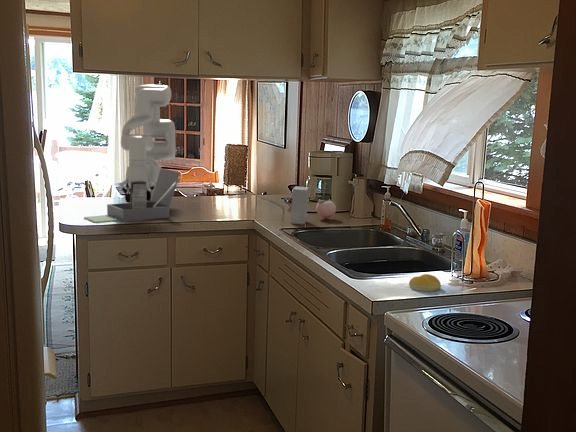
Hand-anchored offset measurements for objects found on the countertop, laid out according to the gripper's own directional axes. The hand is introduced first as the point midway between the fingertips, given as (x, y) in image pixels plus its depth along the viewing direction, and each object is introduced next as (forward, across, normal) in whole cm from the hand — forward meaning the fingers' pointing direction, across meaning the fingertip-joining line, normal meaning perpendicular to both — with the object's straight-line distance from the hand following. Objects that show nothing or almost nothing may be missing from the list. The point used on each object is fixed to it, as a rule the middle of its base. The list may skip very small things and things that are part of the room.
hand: (138, 201), depth 287 cm
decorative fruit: (+7, -71, +48) cm, 86 cm away
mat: (+7, +18, 0) cm, 19 cm away
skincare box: (+7, -55, +48) cm, 73 cm away
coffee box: (+7, 0, 0) cm, 7 cm away
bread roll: (+7, -23, +148) cm, 150 cm away
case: (+7, -3, +1) cm, 7 cm away
